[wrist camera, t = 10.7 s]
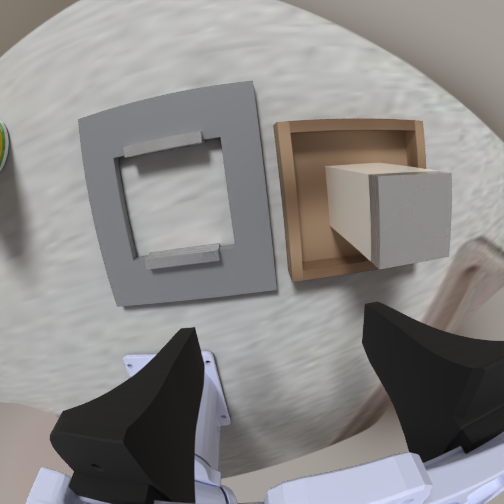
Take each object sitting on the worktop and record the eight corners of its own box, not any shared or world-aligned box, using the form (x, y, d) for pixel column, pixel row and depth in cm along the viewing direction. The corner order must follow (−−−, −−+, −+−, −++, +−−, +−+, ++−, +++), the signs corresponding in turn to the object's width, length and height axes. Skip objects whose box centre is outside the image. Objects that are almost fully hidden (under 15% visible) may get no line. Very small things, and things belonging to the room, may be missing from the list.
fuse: (382, 219, 20) (448, 256, 12) (329, 225, 20) (379, 269, 12) (379, 162, 18) (451, 173, 11) (324, 166, 19) (377, 176, 11)
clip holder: (275, 285, 22) (277, 294, 20) (120, 301, 22) (113, 310, 20) (252, 83, 17) (253, 78, 16) (83, 120, 17) (73, 118, 16)
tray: (411, 252, 21) (424, 261, 19) (288, 270, 21) (292, 281, 19) (408, 122, 18) (422, 120, 16) (273, 125, 18) (277, 122, 16)
